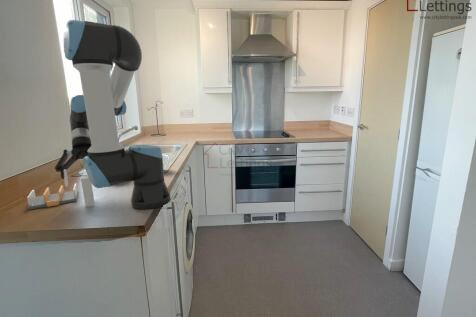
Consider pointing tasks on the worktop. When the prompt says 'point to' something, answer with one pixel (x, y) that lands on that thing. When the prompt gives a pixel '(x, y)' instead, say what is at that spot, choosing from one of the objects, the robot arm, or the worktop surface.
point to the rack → (52, 198)
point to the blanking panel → (87, 190)
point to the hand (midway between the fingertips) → (86, 182)
